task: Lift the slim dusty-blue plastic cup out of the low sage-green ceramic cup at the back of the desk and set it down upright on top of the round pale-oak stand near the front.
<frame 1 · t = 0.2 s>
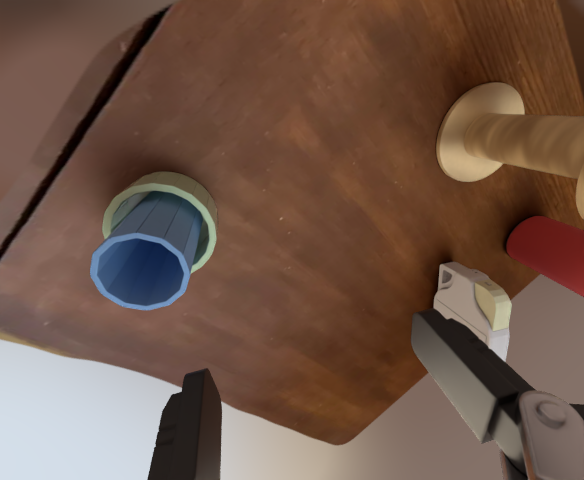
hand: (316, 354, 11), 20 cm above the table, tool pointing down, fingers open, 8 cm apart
beer can: (523, 235, 38), on the table
handheld gaming console: (437, 300, 41), on the table
blue cup: (170, 218, 27), point 1 cm above the table, touching green cup
green cup: (171, 216, 27), on the table
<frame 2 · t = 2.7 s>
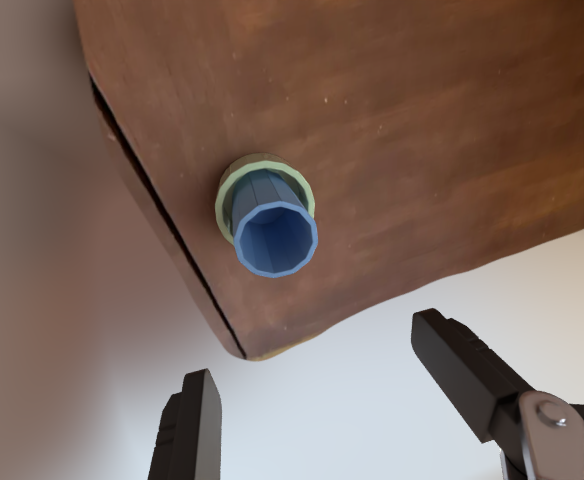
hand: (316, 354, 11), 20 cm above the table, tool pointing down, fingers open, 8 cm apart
blue cup: (262, 198, 28), point 1 cm above the table, touching green cup
green cup: (261, 196, 29), on the table
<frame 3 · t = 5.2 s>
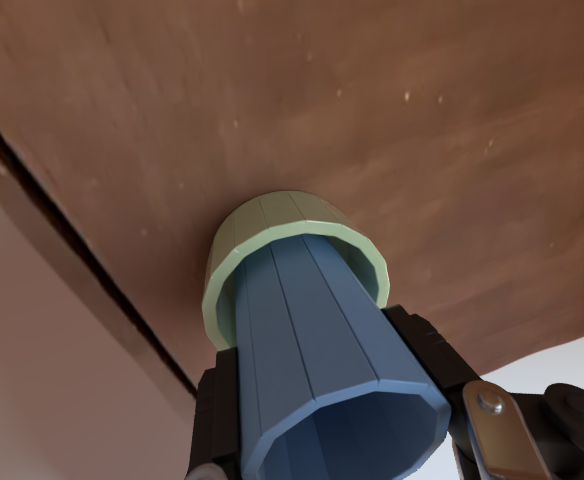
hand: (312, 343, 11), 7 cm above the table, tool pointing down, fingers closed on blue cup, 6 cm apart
blue cup: (286, 266, 16), point 1 cm above the table, touching green cup, gripper
green cup: (284, 260, 17), on the table
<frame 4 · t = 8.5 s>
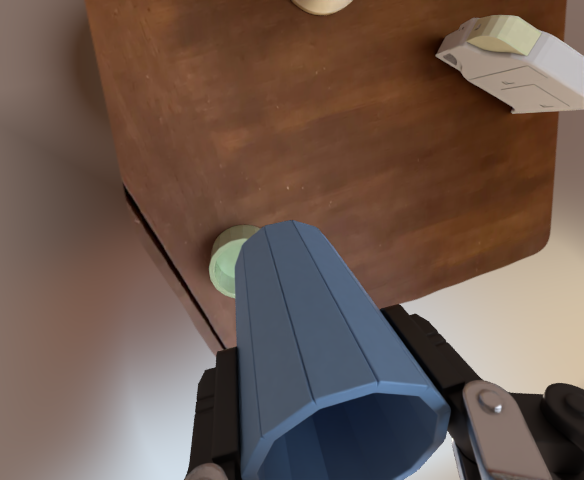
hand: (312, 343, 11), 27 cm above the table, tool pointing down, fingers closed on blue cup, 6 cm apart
handheld gaming console: (477, 75, 35), on the table
blue cup: (286, 266, 16), point 21 cm above the table, touching gripper
green cup: (244, 253, 39), on the table
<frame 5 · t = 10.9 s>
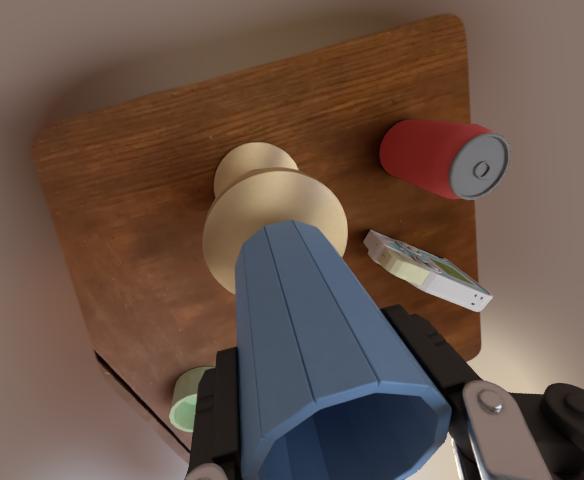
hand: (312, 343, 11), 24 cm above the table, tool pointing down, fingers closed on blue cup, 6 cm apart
stand: (278, 244, 19), on the table
beer can: (401, 148, 34), on the table
handheld gaming console: (402, 248, 41), on the table
blue cup: (286, 266, 16), point 18 cm above the table, touching gripper
green cup: (204, 386, 44), on the table
when the fingers open (21 cm above the table, at t = 12.3 s): blue cup stays where it is, resting on stand.
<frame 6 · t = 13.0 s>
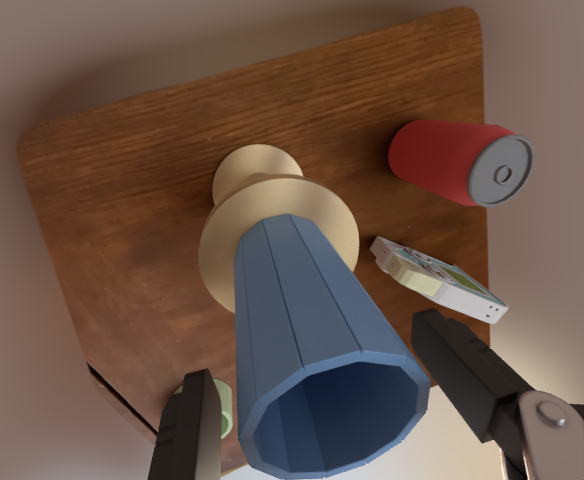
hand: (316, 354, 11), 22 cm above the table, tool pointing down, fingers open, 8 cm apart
stand: (283, 259, 17), on the table
beer can: (411, 150, 32), on the table
handheld gaming console: (410, 255, 39), on the table
blue cup: (283, 259, 17), point 15 cm above the table, touching stand
green cup: (202, 397, 42), on the table
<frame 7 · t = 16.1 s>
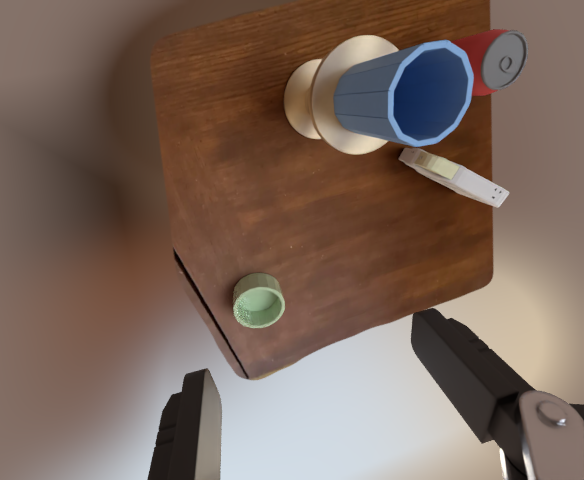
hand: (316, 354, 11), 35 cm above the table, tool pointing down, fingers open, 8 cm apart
stand: (363, 99, 26), on the table
beer can: (433, 72, 41), on the table
handheld gaming console: (429, 169, 48), on the table
blue cup: (362, 99, 26), point 15 cm above the table, touching stand
green cup: (257, 292, 51), on the table
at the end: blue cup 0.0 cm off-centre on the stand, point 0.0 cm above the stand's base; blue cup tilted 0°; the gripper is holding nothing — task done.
